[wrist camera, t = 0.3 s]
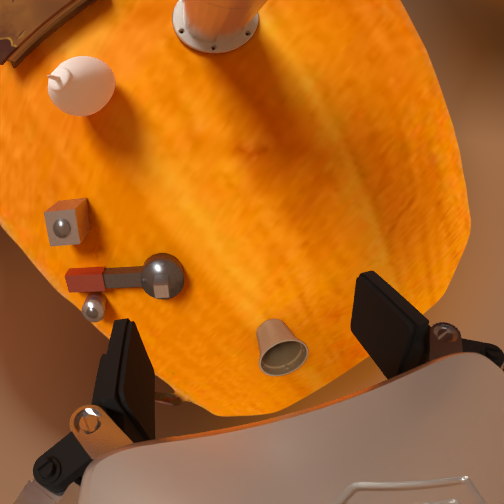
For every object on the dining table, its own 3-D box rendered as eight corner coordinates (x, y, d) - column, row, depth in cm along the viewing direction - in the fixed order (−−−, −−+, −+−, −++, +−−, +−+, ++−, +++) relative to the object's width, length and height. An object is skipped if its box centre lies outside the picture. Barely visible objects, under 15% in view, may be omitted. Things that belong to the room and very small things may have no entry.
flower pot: (284, 303, 57) (300, 331, 49) (299, 333, 61) (314, 361, 54) (241, 325, 57) (250, 355, 49) (259, 353, 61) (270, 382, 54)
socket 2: (84, 290, 46) (78, 304, 43) (104, 290, 47) (100, 303, 44) (89, 309, 48) (84, 323, 44) (109, 308, 49) (105, 322, 45)
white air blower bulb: (102, 125, 36) (54, 130, 21) (64, 101, 33) (3, 97, 17) (132, 80, 35) (101, 56, 19) (94, 58, 31) (45, 27, 16)
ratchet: (66, 258, 43) (55, 276, 38) (182, 251, 48) (182, 269, 42) (75, 293, 46) (66, 313, 41) (184, 288, 51) (186, 309, 45)
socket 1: (58, 200, 39) (43, 213, 34) (86, 197, 40) (74, 209, 35) (63, 231, 41) (49, 247, 36) (91, 229, 42) (79, 244, 37)
